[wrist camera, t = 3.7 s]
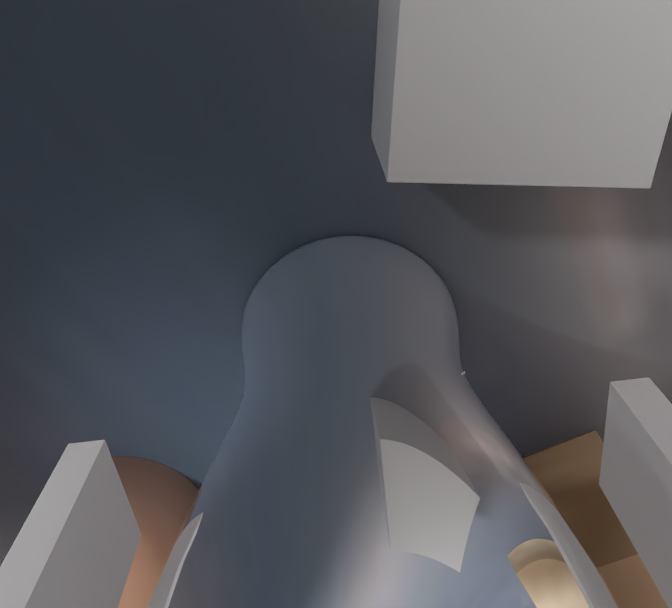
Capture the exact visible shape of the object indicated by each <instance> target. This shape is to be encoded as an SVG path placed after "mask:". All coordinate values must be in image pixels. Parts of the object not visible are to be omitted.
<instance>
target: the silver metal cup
mask: <svg viewBox="0 0 672 608" xmlns="http://www.w3.org/2000/svg"><path fill="white" fill-rule="evenodd" d="M241 345H242V353H243V360H244V368H245V388H244V393H243V397H242V400H241V404H240V407H239V409H238V411H237V413H236V416H235V418H234V420H233V422H232V424H231V427H230V429H229V431H228V433H227V435H226V437H225V439H224V441H223V443H222V445H221V447H220V449H219V451H218V453H217V455H216V457H215V459H214V461H213V463H212V465H211V467H210V469H209V471H208V473H207V475H206V477H205V479H204V481H203V483H202V485H201V487H200V489H199V491H198V493H197V495H196V497H195V499H194V501H193V503H192V506H191V508H190V510H189V512H188V514H187V516H186V518H185V520H184V522H183V524H182V526H181V528H180V530H179V532H178V534H177V537H176V539H175V542H174V544H173V546H172V549H171V551H170V554H169V556H168V558H167V561H166V563H165V566H164V568H163V570H162V573H161V575H160V577H159V580H158V582H157V585H156V587H155V589H154V592H153V594H152V597H151V599H150V601H149V604H148V606H147V608H619V606H618V604H617V602H616V600H615V598H614V596H613V594H612V592H611V590H610V589H609V587H608V585H607V583H606V581H605V580H604V578H603V577H602V575H601V573H600V572H599V570H598V569H597V567H596V566H595V564H594V563H593V561H592V559H591V558H590V556H589V555H588V553H587V552H586V550H585V549H584V547H583V545H582V544H581V542H580V541H579V539H578V538H577V536H576V535H575V533H574V531H573V530H572V528H571V527H570V525H569V524H568V522H567V521H566V519H565V517H564V516H563V514H562V513H561V511H560V510H559V508H558V507H557V505H556V504H555V502H554V501H553V499H552V498H551V496H550V495H549V494H548V492H547V491H546V490H545V488H544V487H543V485H542V484H541V483H540V481H539V480H538V479H537V477H536V476H535V474H534V473H533V472H532V470H531V469H530V468H529V466H528V465H527V463H526V462H525V461H524V459H523V458H522V456H521V455H520V454H519V452H518V451H517V450H516V448H515V447H514V445H513V444H512V443H511V441H510V440H509V439H508V437H507V436H506V435H505V433H504V432H503V431H502V429H501V428H500V427H499V425H498V424H497V423H496V421H495V420H494V419H493V417H492V416H491V415H490V413H489V412H488V411H487V409H486V408H485V407H484V405H483V404H482V402H481V401H480V399H479V398H478V396H477V395H476V394H475V392H474V391H473V389H472V388H471V386H470V385H469V383H468V381H467V378H466V376H465V371H464V372H463V370H462V367H461V363H460V351H459V330H458V320H457V314H456V310H455V306H454V303H453V300H452V297H451V295H450V293H449V291H448V289H447V287H446V285H445V284H444V282H443V281H442V279H441V278H440V276H439V275H438V274H437V273H436V272H435V271H434V270H433V269H432V268H431V267H430V266H429V265H428V264H427V263H426V262H425V261H424V260H422V259H421V258H420V257H418V256H417V255H415V254H414V253H412V252H411V251H409V250H407V249H405V248H403V247H401V246H399V245H397V244H394V243H392V242H389V241H386V240H382V239H378V238H373V237H366V236H338V237H331V238H326V239H322V240H318V241H315V242H312V243H309V244H306V245H304V246H302V247H300V248H297V249H296V250H294V251H292V252H290V253H289V254H287V255H286V256H284V257H283V258H281V259H280V260H279V261H277V262H276V263H275V264H274V265H273V266H272V267H271V268H270V269H269V270H268V271H267V272H266V273H265V274H264V275H263V276H262V278H261V279H260V280H259V282H258V283H257V284H256V286H255V287H254V289H253V291H252V293H251V295H250V297H249V299H248V301H247V304H246V307H245V310H244V314H243V319H242V326H241Z"/></svg>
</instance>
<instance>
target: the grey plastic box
mask: <svg viewBox="0 0 672 608" xmlns="http://www.w3.org/2000/svg"><path fill="white" fill-rule="evenodd" d="M671 113H672V0H379V10H378V28H377V45H376V62H375V79H374V96H373V114H372V131H371V138H372V141H373V144H374V147H375V149H376V152H377V155H378V158H379V161H380V163H381V166H382V169H383V172H384V175H385V177H386V180H387V182H401V183H443V184H484V185H526V186H567V187H609V188H651V184H652V180H653V177H654V173H655V170H656V166H657V163H658V159H659V155H660V152H661V148H662V145H663V141H664V138H665V134H666V130H667V127H668V123H669V120H670V116H671Z"/></svg>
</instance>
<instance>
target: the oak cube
mask: <svg viewBox="0 0 672 608" xmlns="http://www.w3.org/2000/svg"><path fill="white" fill-rule="evenodd" d="M602 451H603V441H602V439H601V438H600V436H599V434H598V433H597V431H596V430H595V431H592V432H590V433H587V434H585V435H582V436H579V437H577V438H574V439H572V440H569V441H566V442H564V443H561V444H559V445H556V446H553V447H551V448H548V449H545V450H543V451H540V452H538V453H535V454H532V455H530V456H527V457H525V458H523V459H524V461H525V462H526V463H527V465H528V466H529V468H530V469H531V470H532V472H533V473H534V474H535V476H536V477H537V479H538V480H539V481H540V483H541V484H542V485H543V487H544V488H545V490H546V491H547V492H548V494H549V495H550V496H551V498H552V499H553V501H554V502H555V504H556V505H557V507H558V508H559V510H560V511H561V513H562V514H563V516H564V517H565V519H566V521H567V522H568V524H569V525H570V527H571V528H572V530H573V531H574V533H575V535H576V536H577V538H578V539H579V541H580V542H581V544H582V545H583V547H584V549H585V550H586V552H587V553H588V555H589V556H590V558H591V559H592V561H593V563H594V564H595V566H596V567H597V569H598V570H599V572H600V573H601V575H602V577H603V578H604V580H605V581H606V583H607V585H608V587H609V589H610V590H611V592H612V594H613V596H614V598H615V600H616V602H617V604H618V606H619V608H668V606H667V604H666V602H665V601H664V599H663V597H662V595H661V594H660V592H659V590H658V588H657V586H656V585H655V583H654V581H653V579H652V578H651V576H650V574H649V572H648V570H647V569H646V567H645V565H644V563H643V562H642V560H641V558H640V556H639V555H638V553H637V551H636V549H635V547H634V546H633V544H632V542H631V540H630V539H629V537H628V535H627V533H626V532H625V530H624V528H623V526H622V524H621V523H620V521H619V519H618V517H617V516H616V514H615V512H614V510H613V508H612V507H611V505H610V503H609V501H608V500H607V498H606V496H605V494H604V493H603V491H602V489H601V487H600V485H599V479H600V470H601V461H602Z"/></svg>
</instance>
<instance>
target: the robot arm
mask: <svg viewBox="0 0 672 608" xmlns="http://www.w3.org/2000/svg"><path fill="white" fill-rule="evenodd" d="M599 485H600V487H601V489H602V491H603V493H604V494H605V496H606V498H607V500H608V501H609V503H610V505H611V507H612V508H613V510H614V512H615V514H616V516H617V517H618V519H619V521H620V523H621V524H622V526H623V528H624V530H625V532H626V533H627V535H628V537H629V539H630V540H631V542H632V544H633V546H634V547H635V549H636V551H637V553H638V555H639V556H640V558H641V560H642V562H643V563H644V565H645V567H646V569H647V570H648V572H649V574H650V576H651V578H652V579H653V581H654V583H655V585H656V586H657V588H658V590H659V592H660V594H661V595H662V597H663V599H664V601H665V602H666V604H667V606H668V608H672V404H671V402H670V401H669V400H668V399H667V398H666V397H665V395H664V394H663V393H662V392H661V391H660V390H659V388H658V387H657V386H656V385H655V384H654V382H653V381H652V380H651V379H650V378H649V377H647V378H638V379H629V380H621V381H612V382H610V387H609V396H608V405H607V414H606V424H605V433H604V442H603V451H602V461H601V470H600V479H599ZM141 535H142V534H141V531H140V529H139V526H138V524H137V521H136V518H135V516H134V513H133V511H132V508H131V506H130V503H129V500H128V498H127V495H126V493H125V490H124V488H123V485H122V482H121V480H120V477H119V475H118V472H117V470H116V467H115V464H114V462H113V459H112V457H111V454H110V452H109V449H108V446H107V444H106V441H105V440H97V441H88V442H80V443H71V444H68V445H67V447H66V449H65V451H64V452H63V454H62V456H61V458H60V460H59V461H58V463H57V465H56V467H55V469H54V470H53V472H52V474H51V476H50V478H49V479H48V481H47V483H46V485H45V487H44V489H43V490H42V492H41V494H40V496H39V498H38V499H37V501H36V503H35V505H34V507H33V508H32V510H31V512H30V514H29V516H28V517H27V519H26V521H25V523H24V525H23V527H22V528H21V530H20V532H19V534H18V536H17V537H16V539H15V541H14V543H13V545H12V546H11V548H10V550H9V552H8V554H7V555H6V557H5V559H4V561H3V563H2V565H1V566H0V608H118V605H119V602H120V599H121V596H122V593H123V590H124V587H125V584H126V580H127V577H128V574H129V571H130V568H131V565H132V562H133V559H134V556H135V553H136V550H137V547H138V544H139V541H140V538H141Z"/></svg>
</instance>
